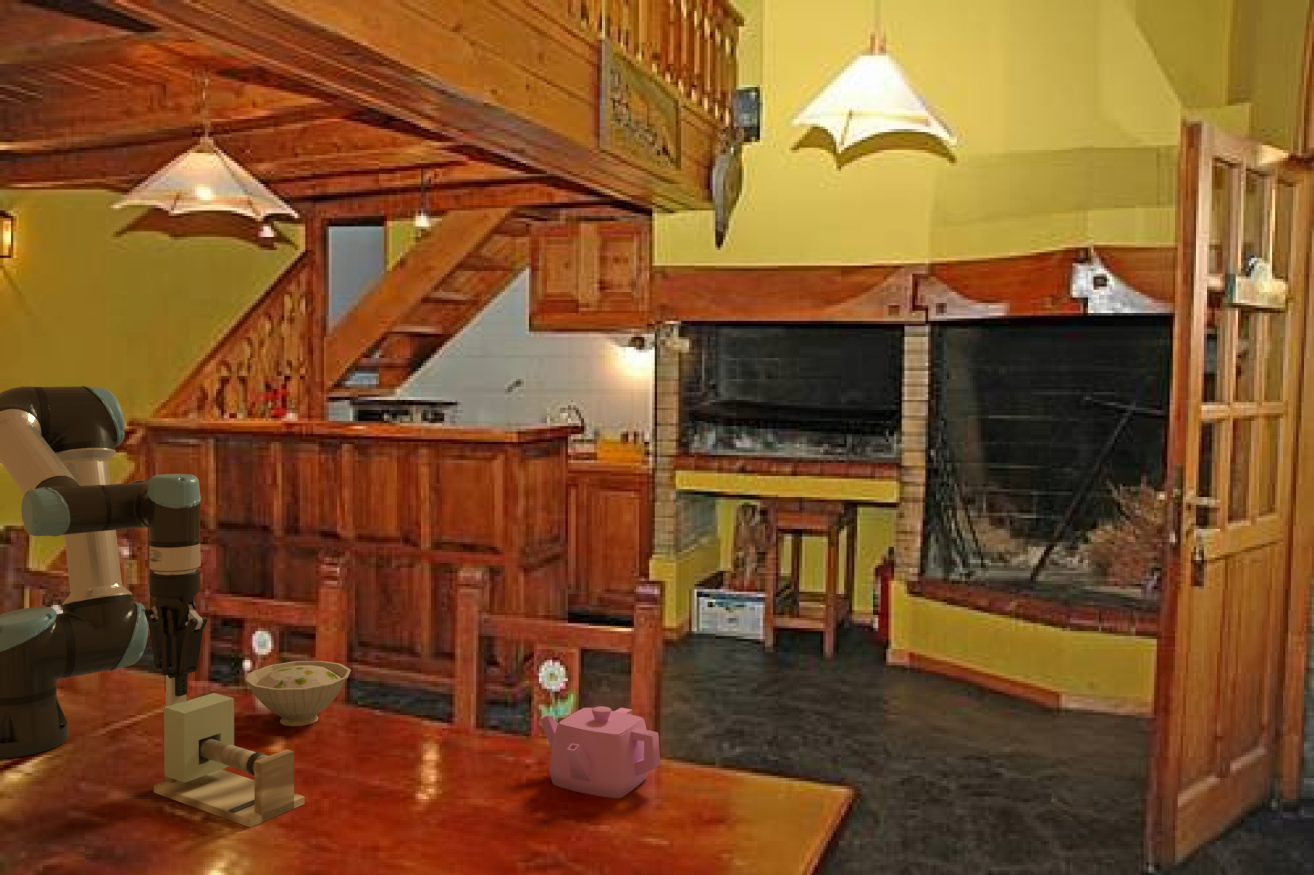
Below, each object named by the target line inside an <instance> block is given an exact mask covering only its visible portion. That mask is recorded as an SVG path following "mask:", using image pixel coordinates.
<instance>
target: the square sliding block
mask: <svg viewBox="0 0 1314 875" xmlns="http://www.w3.org/2000/svg"><path fill="white" fill-rule="evenodd" d="M163 725H164V726H163V730H164V731H163V734H164V735H163V738H164V739H163V740H164V744H163V746H164V748H163V749H164V750H163V751H164V752H163V753H164V755H163V756H164V757H163V758H164V760H163V762H164V763H163V765H164V777H165V776H167V777H169V778H172V779H175V780H178V781H181V782H184V783H185V782H188V781H191V780H193V779H196V778H199V777H202V776H204V775H207V774H210V773H213V772H215V771H218V770H221V769H222V770H225V769H226V768H229V767H230V766H228V765H225V764H222V763H219V762H216V761H212V760H209V759H206V758H203V757H200V756H199V740H201V739H204V738H211V739H214V740H217V741H220V742H224V743H227V744H230V745H233V746H235V698H234V697H230V696H226V695H224V694H223V695H222V694H220V693H216V692H213V693H208V694H205V695H202V696H199V697H194V698H191V699H189V700H187V701H184V702H181V703H178V704H174V705H171V706H167V707H166V706H165V707H163Z"/></svg>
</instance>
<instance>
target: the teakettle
mask: <svg viewBox="0 0 1314 875" xmlns="http://www.w3.org/2000/svg"><path fill="white" fill-rule="evenodd" d="M539 721H540V724H541V726H542V729H543V731H544V733H545V734H544V735H545V736H546V738H547V741H548V744H549V746H550V748H551V751H550V753H551V754H550V761H549V763H550V764H549V776H550V778H551V782H552V785H554V786H555V787H558V788H562V789H566V790H569V791H573V792H576V793H581V794H585V795H591V796H598V797H602V798H608V799H621V798H624V797H625V796H627V795H629V793H630V792H632V791H634V790H635V789H636V788H638V787H639V786H640V785H641V784H642V783H643V782H644V781H646V779H647V777H648V774H649V772H651V771H652V770H653V771H654V770H655V769H657V767H659V766H660V765H661V755H660V754H661V753H660V741H659V740H660V739H659V732H657V731H653V730H648V729H647V726H646V722H645V718H644V717H641V716H639V715H636V714H635V715H634V714H633V709H631V708H626V707H620V708H617V709H616V710H612V708H610V707H608V706H604V705H603V706H602V705H601V706H595V707H583V708H580V709H579V710H576V711H575V712H574V713H571V714H570V715H568V716H567V717H565V718H563V719H562V720H560V721H559V722H557V721H556V719H555V718H554V717H553V715H543V716H541V717H539Z"/></svg>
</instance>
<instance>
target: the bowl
mask: <svg viewBox="0 0 1314 875" xmlns="http://www.w3.org/2000/svg"><path fill="white" fill-rule="evenodd" d="M351 671H352V669H351V668H349V667H348V666H346V665H344V664H342V663H338V662H331V661H324V660H299V661H298V660H297V661H295V660H293V661H288V662H283V663H281V662H280V663H274V664H269V665H266V666H264V667H261V668H258V669H255V670H252V671H251V672H249V674H248V676H247V677H246V678H245V682H246V683H247V686H248V687H249V689H250V691H251V693H252V694H253V696H254V697H255V698H257V700H258V701H259V702H260V703H262V705H263V706H265V707H266V708H267V710H269V711H270V712H271V713H273V714H275V715H276V716H279V717H280V718H281V719H280V721H279V723H280V724H281V725H283V726H289V727H302V726H306V725H311V724H313V723H315V722H318V720H319V717H318V714H320V713H321V712H322V711H324V710H326V709H327V708H328V707H329V706H330V705H331V704H332V703H333V701H335V699H336V698H337V697H338V696H339V694H341V692H342V690H343V688H344V685H345V684H346V682H347V680H348V678H349V676H350V673H351Z"/></svg>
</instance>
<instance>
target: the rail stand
mask: <svg viewBox="0 0 1314 875" xmlns="http://www.w3.org/2000/svg"><path fill="white" fill-rule="evenodd" d="M199 756H200V757H203V758H206V759H209V760H212V761H216V762H219V763H222V764H225V765H228V766H229V767H232V768H235V769H238V770H240V771H244V772H247V773H248V774H249V775H252V776H253V778H254V779H252V778H249V777H246V776H243V775H239V774H238V773H237V774H236V773H234V772H230V771H228V770H225V769H221V770H218V771H215V772H213V773H210V774H207V775H204V776H202V777H199V778H196V779H193V780H191V781H188V782H185V783H184V782H181V781H178V780H175V779H172V778H169V777H167V776H165V775H164V780H165V781H161V782H159V783H156V784H154V785H153V793H155V794H157V795H159V796H162V797H165V798H168V799H170V800H173V801H176V802H179V803H180V804H181V803H182V804H185V805H187V806H190V807H192V808H195V809H198V810H201V811H204V812H206V813H209V814H212V815H215V816H217V817H220V818H223V819H226V820H228V821H231V822H234V823H236V824H239V825H242V826H245V827H248V828H253V827H255V826H257V825H260V824H262V823H264V822H267V821H269V820H271V819H273V818H276V817H278V816H280V815H283V814H286V813H287V812H289V811H293V810H294V809H296V808H299V807H301V806H304V805H305V796H303V795H301V794H298V793H295V751H293V750H291V749H284V750H282V751H278V752H276V753H273V754H271V755H268V754H266V753H264V752H261V751H253V750H249V749H247V748H243V747H241V746H240V747H239V746H236V745H234V746H233V745H230V744H227V743H224V742H220V741H217V740H214V739H211V738H204V739H201V740H199Z"/></svg>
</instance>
